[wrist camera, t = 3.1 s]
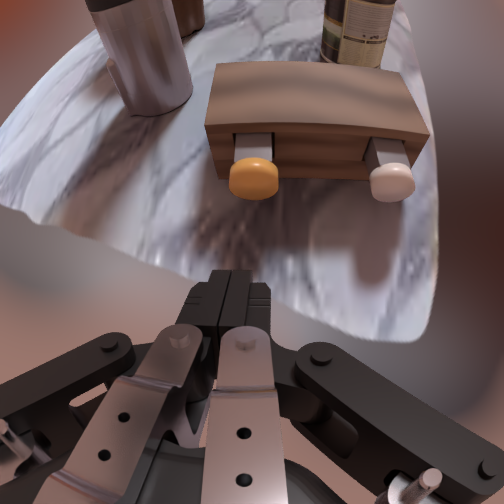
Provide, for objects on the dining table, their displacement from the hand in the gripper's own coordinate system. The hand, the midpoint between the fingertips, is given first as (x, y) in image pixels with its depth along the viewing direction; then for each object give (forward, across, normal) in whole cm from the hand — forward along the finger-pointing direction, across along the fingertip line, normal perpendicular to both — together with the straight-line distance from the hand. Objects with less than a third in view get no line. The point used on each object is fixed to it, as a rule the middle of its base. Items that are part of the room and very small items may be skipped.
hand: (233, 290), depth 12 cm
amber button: (+18, 0, -2) cm, 18 cm away
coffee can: (+39, -15, -19) cm, 46 cm away
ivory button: (+18, -12, -2) cm, 21 cm away
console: (+24, -6, -4) cm, 25 cm away
